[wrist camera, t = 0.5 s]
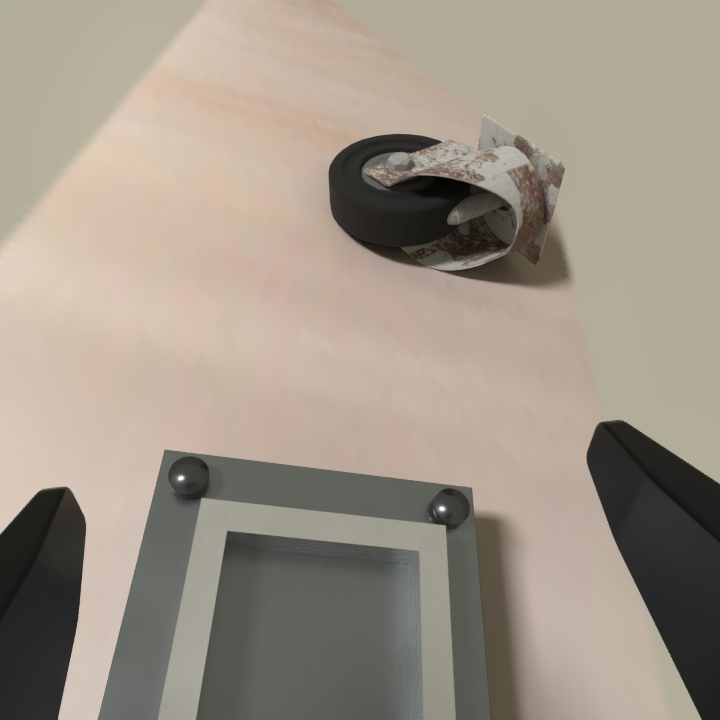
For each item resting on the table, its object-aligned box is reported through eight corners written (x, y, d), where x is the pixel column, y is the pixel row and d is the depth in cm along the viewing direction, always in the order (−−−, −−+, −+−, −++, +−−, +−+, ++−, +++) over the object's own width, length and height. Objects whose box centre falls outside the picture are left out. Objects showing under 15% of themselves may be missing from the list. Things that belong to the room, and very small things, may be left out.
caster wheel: (310, 221, 39) (435, 176, 42) (405, 327, 32) (546, 264, 35) (300, 123, 33) (444, 80, 37) (411, 225, 27) (574, 162, 30)
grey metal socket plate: (468, 912, 19) (533, 945, 15) (67, 910, 17) (30, 948, 13) (447, 514, 26) (486, 472, 23) (168, 481, 24) (162, 431, 21)
